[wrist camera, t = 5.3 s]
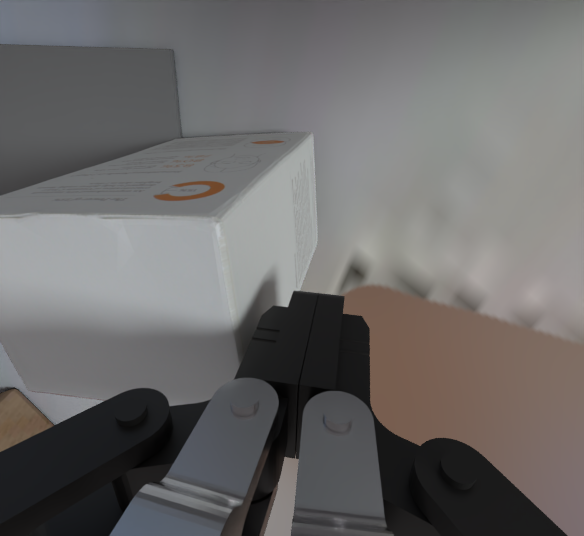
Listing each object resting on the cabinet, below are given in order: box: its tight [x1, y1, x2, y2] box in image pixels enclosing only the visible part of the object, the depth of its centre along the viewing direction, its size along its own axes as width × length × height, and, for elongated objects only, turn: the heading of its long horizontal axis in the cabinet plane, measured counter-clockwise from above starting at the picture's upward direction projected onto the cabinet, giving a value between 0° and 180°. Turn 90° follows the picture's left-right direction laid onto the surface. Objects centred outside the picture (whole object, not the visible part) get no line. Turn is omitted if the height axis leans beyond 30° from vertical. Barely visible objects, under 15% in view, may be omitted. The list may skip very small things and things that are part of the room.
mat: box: [0, 44, 182, 196], centre depth 23 cm, size 18×14×1 cm
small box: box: [0, 132, 318, 406], centre depth 16 cm, size 8×6×13 cm
